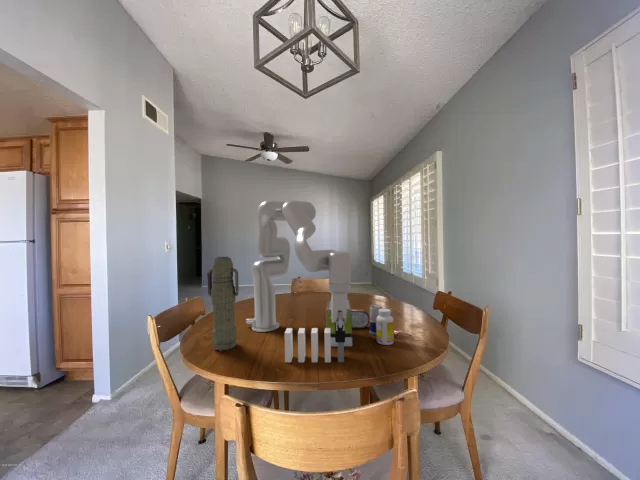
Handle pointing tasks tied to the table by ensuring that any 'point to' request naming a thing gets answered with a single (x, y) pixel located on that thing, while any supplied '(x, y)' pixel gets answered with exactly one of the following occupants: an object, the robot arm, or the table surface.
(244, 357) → the table surface
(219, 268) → the thermos
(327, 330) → the domino
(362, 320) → the tin
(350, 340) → the tea box
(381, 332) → the supplement bottle
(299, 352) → the domino
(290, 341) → the domino
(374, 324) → the energy drink
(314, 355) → the domino
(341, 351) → the domino
